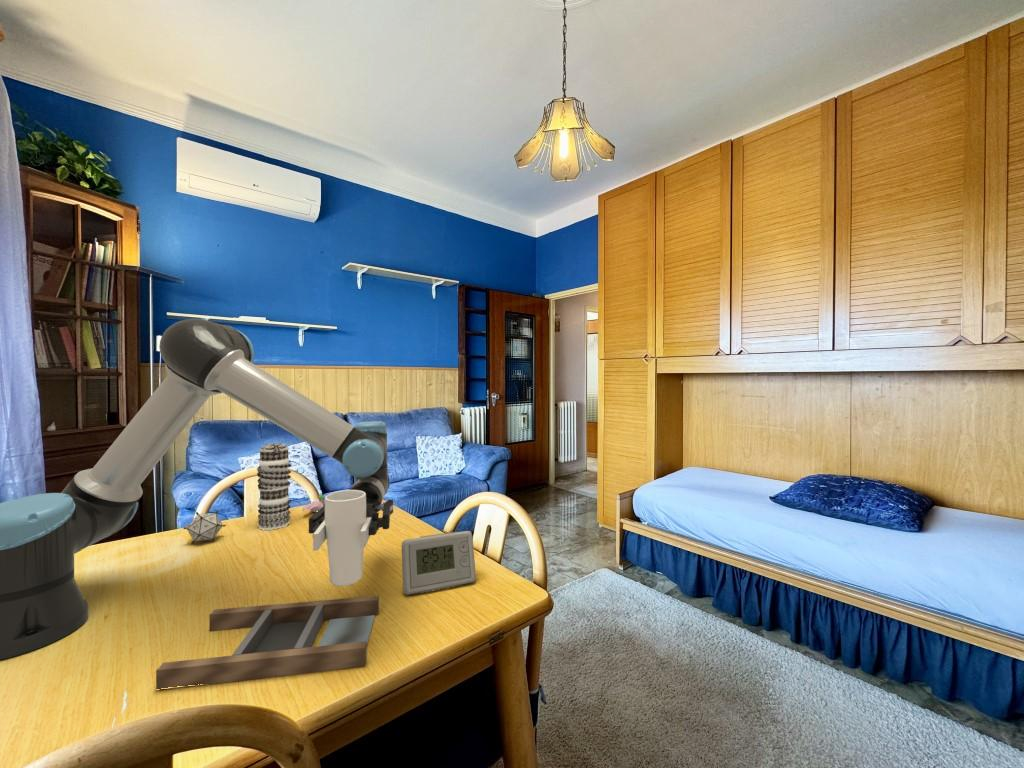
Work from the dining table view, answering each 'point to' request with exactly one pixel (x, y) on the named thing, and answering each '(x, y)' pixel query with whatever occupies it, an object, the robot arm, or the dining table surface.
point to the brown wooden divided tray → (334, 652)
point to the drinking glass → (345, 535)
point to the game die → (204, 527)
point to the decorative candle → (273, 486)
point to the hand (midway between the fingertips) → (339, 540)
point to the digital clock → (437, 562)
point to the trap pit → (281, 634)
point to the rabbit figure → (315, 504)
